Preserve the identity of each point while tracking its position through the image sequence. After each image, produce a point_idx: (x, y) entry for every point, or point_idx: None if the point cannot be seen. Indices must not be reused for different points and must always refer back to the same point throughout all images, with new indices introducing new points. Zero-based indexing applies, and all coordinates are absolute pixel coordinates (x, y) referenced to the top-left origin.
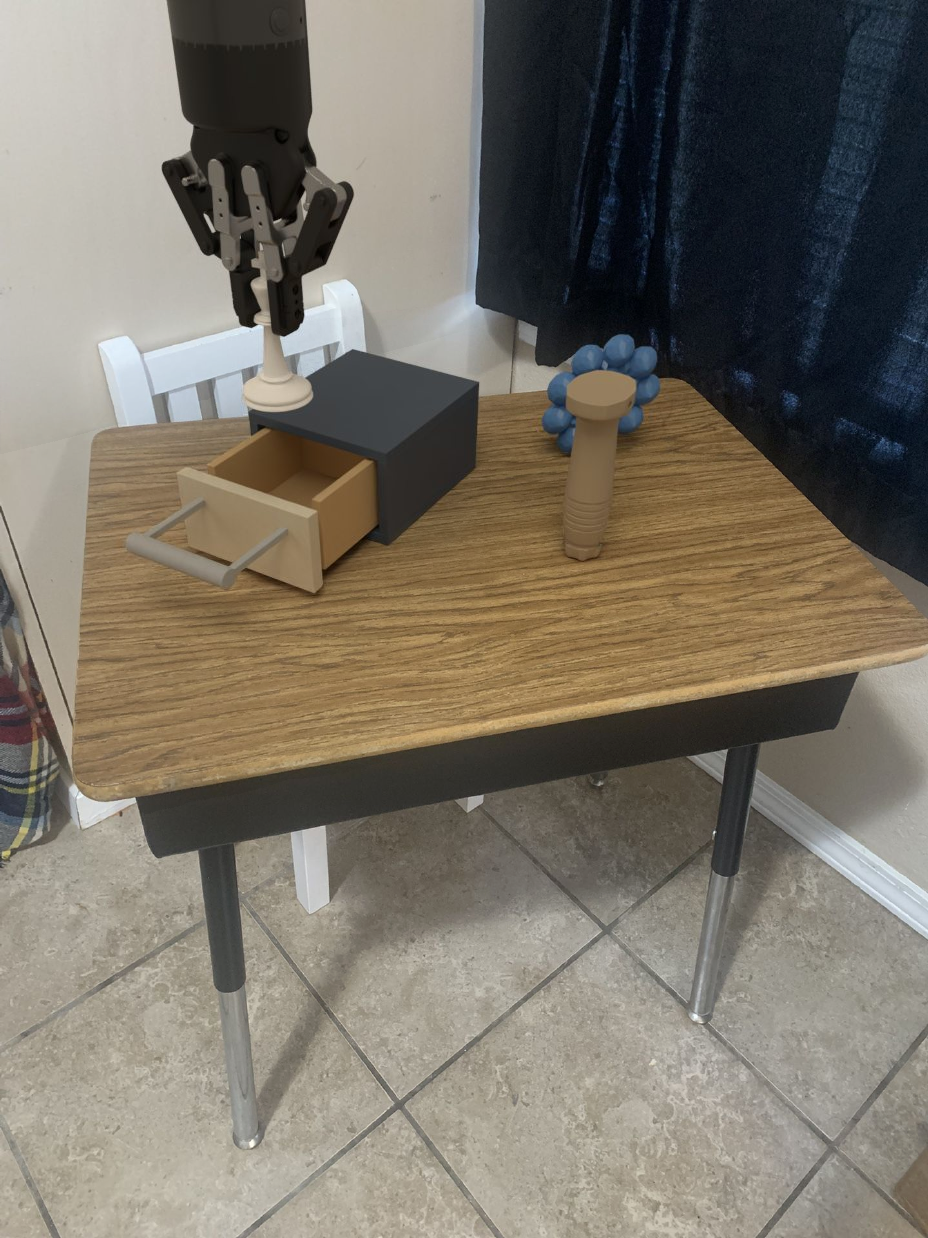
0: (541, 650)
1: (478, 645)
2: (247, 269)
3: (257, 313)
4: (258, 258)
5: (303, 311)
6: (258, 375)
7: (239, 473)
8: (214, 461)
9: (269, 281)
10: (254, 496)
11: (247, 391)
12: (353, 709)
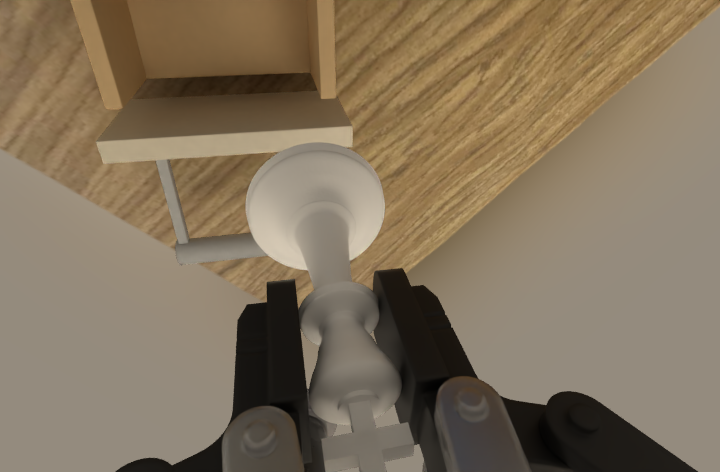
0: (579, 34)
1: (517, 65)
2: (302, 443)
3: (307, 331)
4: (287, 414)
5: (441, 308)
6: (296, 252)
7: (116, 38)
8: (107, 96)
9: (415, 442)
10: (253, 146)
11: (292, 264)
12: (445, 198)
